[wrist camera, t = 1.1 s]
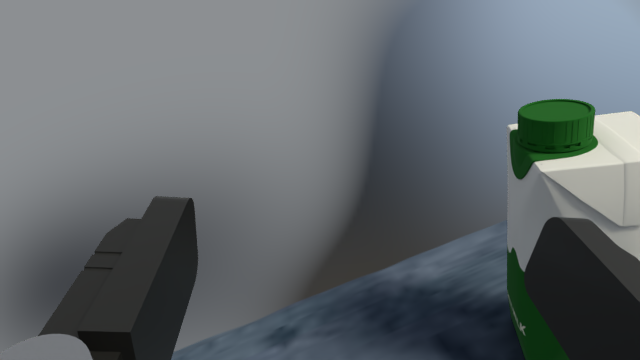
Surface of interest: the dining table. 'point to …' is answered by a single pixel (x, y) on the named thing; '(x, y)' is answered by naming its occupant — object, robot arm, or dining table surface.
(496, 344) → the dining table surface
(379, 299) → the dining table surface
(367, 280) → the dining table surface
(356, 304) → the dining table surface
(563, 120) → the milk carton
